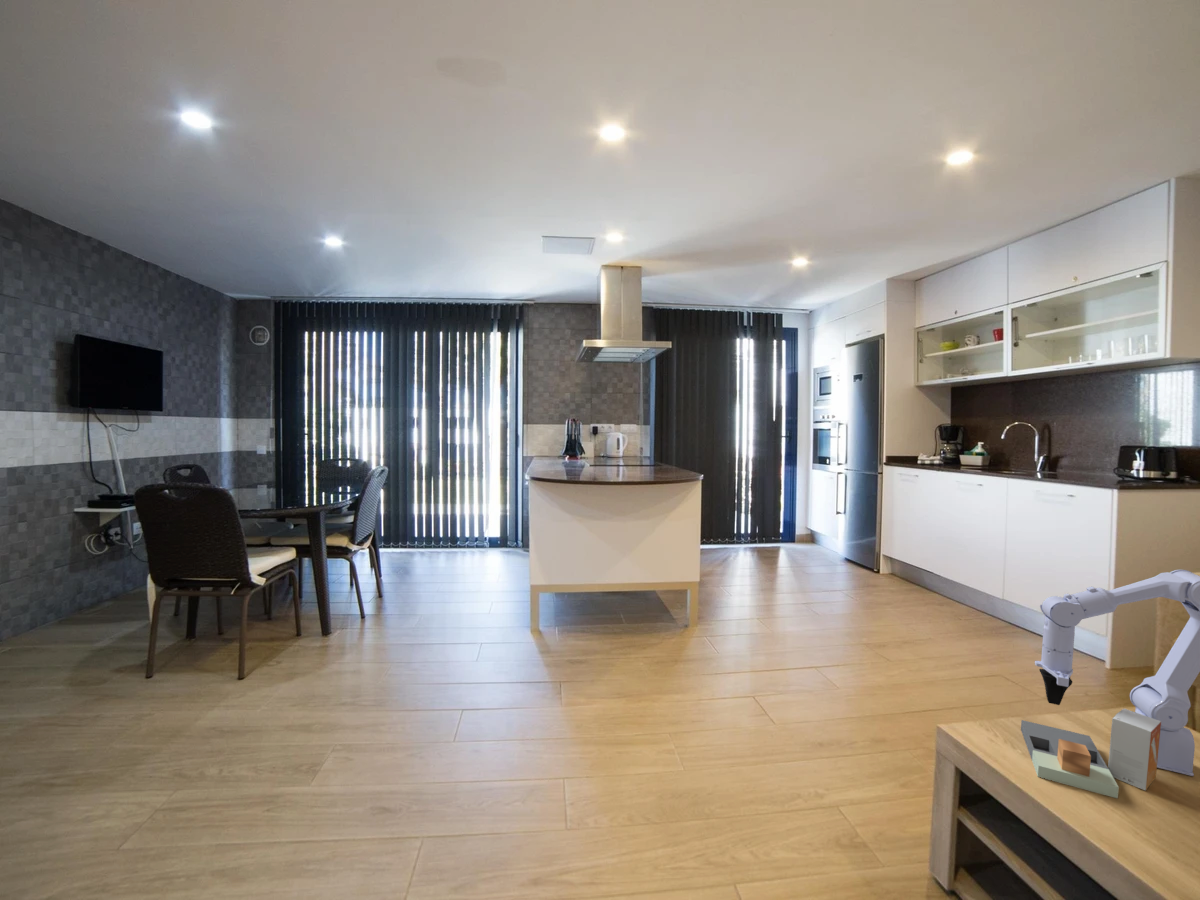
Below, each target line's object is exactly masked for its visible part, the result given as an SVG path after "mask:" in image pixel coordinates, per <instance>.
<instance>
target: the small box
mask: <svg viewBox="0 0 1200 900" xmlns="http://www.w3.org/2000/svg"><path fill="white" fill-rule="evenodd" d="M1111 719H1112V720H1111V731H1110V739H1109V741H1110V742H1109V744H1110V745H1109V754H1108V764H1107V767H1108V769H1109V771H1110V772H1111V774H1112V776H1113V778H1114V779H1115V780H1116V779H1117V780H1119V781H1121V782H1123V783H1126V784H1128V785H1130V786H1132V787H1135V788H1138V789H1141V790H1143V791H1147V790H1148V788H1149V786H1150V785H1151V784H1152V783H1153V782H1154V780H1155V779H1157V770H1158V769H1157V760H1158V750H1159V739H1160V729H1161V721H1159V720H1156V719H1153V718H1150V717H1147V716H1144V715H1142V714H1139V713H1136V712H1135V711H1133V710H1130V709H1127V708H1122V709H1121V710H1120V711H1119V712H1117V713H1115V715H1114V716H1113V717H1112V718H1111Z"/></svg>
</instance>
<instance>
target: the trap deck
mask: <svg viewBox="0 0 1200 900" xmlns="http://www.w3.org/2000/svg"><path fill="white" fill-rule="evenodd" d="M1020 731H1021V733H1022V736H1023V740H1024V742H1025V745H1026V747H1027V750H1028V753H1029V756H1030V759H1031V761H1032V764H1033V767H1034V770H1035V773H1036V775H1037V778H1040V777H1041V778H1040V779H1044V778H1045V780H1049V781H1051V780H1052V781H1053V782H1054V783H1055V782H1056V783H1060V784H1061V785H1062V784H1063V785H1067V786H1070V787H1073V788H1078V789H1081V790H1086V791H1089V792H1092V793H1096V794H1099V795H1104V796H1107V797H1111V798H1114V799H1118V798H1119V788H1120V787H1119V785H1118V783H1117V782H1116V779H1115V778H1114V777H1113V776H1112V774H1111V772H1110V771H1109V769H1108V764H1107V763H1106V762H1105V761H1104V759H1103V757H1102V754H1100V752H1099V750H1098V748H1097V746H1096V745H1095V743H1094V741H1093V740H1092V738H1091V736H1090V735H1087V734H1083V733H1079V732H1075V731H1071V730H1070V731H1069V730H1067V729H1061V728H1059V727H1058V728H1057V727H1054V726H1053V727H1052V726H1049V725H1045V724H1041V723H1040V724H1039V723H1036V722H1032V721H1027V720H1023V719H1021V722H1020ZM1059 739H1062V740H1066V741H1070V742H1074V743H1078V744H1082V745H1085V746H1086V748H1087V749H1088V751H1089V753H1090V755H1091V762H1090V775H1089V777H1088V776H1084V775H1081V774H1077V773H1073V772H1069V771H1066V770H1062V769H1061V766H1060V764H1059V761H1058V759H1057V755H1058V742H1059Z"/></svg>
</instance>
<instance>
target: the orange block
mask: <svg viewBox="0 0 1200 900" xmlns="http://www.w3.org/2000/svg"><path fill="white" fill-rule="evenodd" d="M1057 759H1058V761H1059V764H1060V766H1061V769H1062V770H1066V771H1069V772H1073V773H1077V774H1081V775H1084V776H1088V777H1089V775H1090V762H1091V755H1090V753H1089V751H1088V749H1087V748H1086V746H1085V745H1082V744H1078V743H1074V742H1070V741H1066V740H1062V739H1059V742H1058V755H1057Z"/></svg>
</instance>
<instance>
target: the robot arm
mask: <svg viewBox="0 0 1200 900" xmlns="http://www.w3.org/2000/svg"><path fill="white" fill-rule="evenodd" d="M1157 598H1163V599H1164V598H1165V599H1170V600H1174V601H1178V602H1180V603H1181V604H1182V606H1183V607H1184V609H1185V610H1186V612H1187V614H1188V615H1189V619H1188V620H1187V622H1186V624H1185V626H1183V629H1182V630H1181V632H1180V634H1179V635H1178V637H1177V639H1176V641H1174V644H1173V645H1172V647H1171V649H1170V650H1169V652H1168V653H1167V655H1166V656H1165V658H1164V660H1163V662H1162V663H1161V665H1160V667H1159V669H1158V670H1157V672H1156V673H1155V675H1151V676H1148V677H1145V678H1143V680H1142V681H1141V683H1140V684H1139V685H1136V686H1135V687H1133V688H1132V689H1131V691H1130V692H1129V699H1130V702H1131V704H1132V705H1133V706H1134V707H1135V711H1134V712H1136V713H1139V714H1142V715H1144V716H1147V717H1150V718H1153V719H1156V720H1159V721H1161V729H1160V739H1159V750H1158V760H1157V768H1158V769H1162V770H1166V771H1171V772H1175V773H1178V774H1182V775H1187V776H1191V777H1194V775H1195V774H1194V771H1193V770H1194V760H1195V750H1196V749H1195V747H1196V746H1195V744H1196V743H1195V738H1194V735H1193V733H1192V731H1191V730H1190V729H1189V728H1186V726H1187V724H1188V722H1189V714H1188V712H1189V710H1190V708H1191V707H1192V705H1191V701H1190V697H1189V694H1188V692H1189V689H1190V688H1191V686H1192V685H1193V684H1194V682H1195V680H1196V678H1197V677H1198V675H1199V674H1200V574H1199V575H1198V574H1196V573H1194V572H1192V571H1190V570H1187V569H1175V570H1172V571H1170V572H1168V571H1166V572H1160V573H1159V574H1157V575H1155V576H1153V577H1149V578H1146V579H1143V580H1139V581H1137V582H1136V581H1135V582H1133V583H1130V584H1127V585H1123V586H1120V587H1117V588H1113V589H1109V590H1108V589H1104V588H1102V587H1094V586H1088V587H1086V590H1084V591H1083V590H1082V591H1079V592H1076V593H1072V594H1069V593H1064V594H1063V597H1062V596H1058V595H1052V596H1048V597H1046V598H1045V600H1043V602H1042V604H1040V605H1039V607H1040V611H1041V613H1042V614H1043V615H1044V620H1043V630H1042V641H1041V643H1042V646H1041V647H1042V648H1041V659H1040V660H1034V665H1035V667H1040V668H1039V672H1040V674H1041V676H1042V680H1043V683H1044V690H1045V697H1046V701H1047V702H1048V703H1049V704H1050V705H1051V704H1052V705H1056V706H1060V705H1061V703H1062V700H1063V698H1064V696H1065V693H1066V691H1067V690H1068V689H1069V688H1070V687H1071V686H1072V684H1073V679H1072V678H1071V676H1072V675H1073V673H1074V670H1073V661H1074V660H1073V659H1074V645H1075V630H1076V629H1075V628H1076V627H1077V625H1079V624H1080V623H1081V621H1082V620H1085V619H1089V618H1093V617H1099V616H1102V615H1106V614H1109V613H1114V612H1115V611H1116V609H1117V608H1118V606H1119V605H1125V604H1131V603H1136V602H1142V601H1145V600H1151V599H1157Z"/></svg>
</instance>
